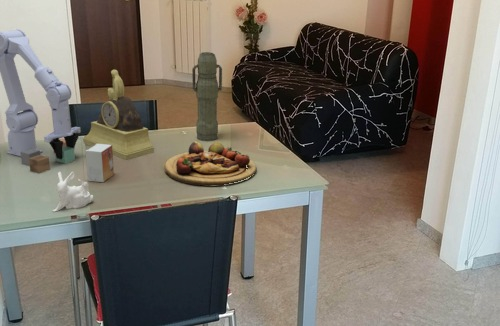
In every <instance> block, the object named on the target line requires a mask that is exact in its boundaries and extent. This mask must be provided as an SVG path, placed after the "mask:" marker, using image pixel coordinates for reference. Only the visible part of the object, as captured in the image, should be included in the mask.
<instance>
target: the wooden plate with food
mask: <svg viewBox="0 0 500 326" xmlns="http://www.w3.org/2000/svg"><path fill="white" fill-rule="evenodd" d="M246 165H247V167H248V168H246ZM246 169H247V171H246ZM164 171H165V172H166V174H167V175H168V176H169V177H171V178H172V179H173V180H176V181H178V182H180V183H181V182H182V183H184V184H188V185H193V184H195V185H194V186H200V185H224V184H229V183H234V182H238V181H241V180H244V179H246V178H248V177H250V176H252V175H253V174H254V173H255V172H257V165H256V164H255V161H253V160H252V159H250V156H249V155H248V154H242V153H241V152H240V151H238V150H233V149H232V147H229V146H228V147H225V146H224V145H223V144H222V143H221V142H219V141H216V142H214V143H211V144H210V146H208V150H205V149H204V147H203V145H202V144H201V143H200V142H198V141H197V140H196V141H193V142H192V143H191V144H190V145H189V147H188V151H187V152H182V153H179V154H176V155H173V156H171V157H170V158H168V159H167V160H166V162H165V165H164ZM255 174H256V173H255ZM255 174H254V175H255Z"/></svg>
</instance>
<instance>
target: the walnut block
mask: <svg viewBox="0 0 500 326" xmlns="http://www.w3.org/2000/svg"><path fill="white" fill-rule="evenodd" d="M50 163H51V162H50V156H46V155H43V154H40V155H38V156H35V157H32V158H29V164H30V166H29V170H30V172H34V173H37V174H42V173H44V172H47V171H50V170H51V164H50Z"/></svg>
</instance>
